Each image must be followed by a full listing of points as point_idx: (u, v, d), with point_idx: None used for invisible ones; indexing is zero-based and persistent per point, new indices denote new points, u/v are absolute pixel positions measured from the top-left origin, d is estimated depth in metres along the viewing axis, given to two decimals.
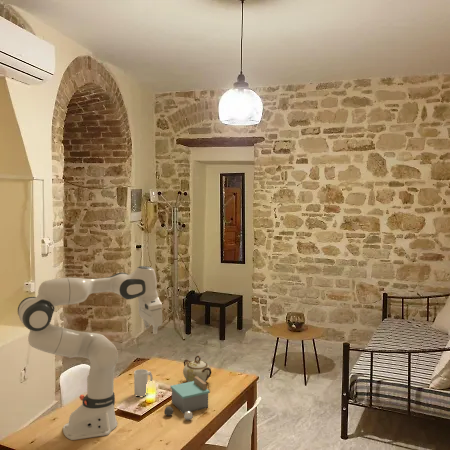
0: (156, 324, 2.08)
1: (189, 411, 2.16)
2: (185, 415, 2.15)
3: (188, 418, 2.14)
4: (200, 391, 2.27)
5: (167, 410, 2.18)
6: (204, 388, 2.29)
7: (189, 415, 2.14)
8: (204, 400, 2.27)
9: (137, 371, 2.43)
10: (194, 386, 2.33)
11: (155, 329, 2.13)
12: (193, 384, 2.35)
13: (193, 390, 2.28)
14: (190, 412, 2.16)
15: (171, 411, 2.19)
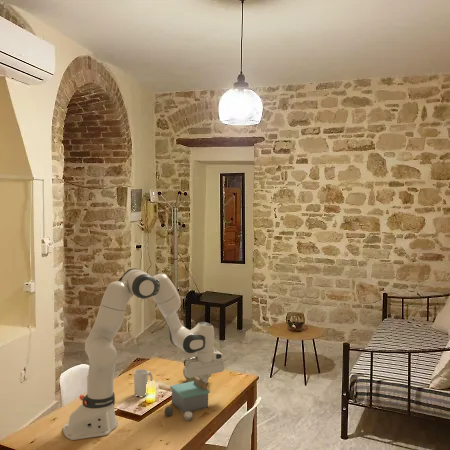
0: None
1: (189, 411, 2.16)
2: (185, 415, 2.15)
3: (188, 418, 2.14)
4: (200, 391, 2.27)
5: (167, 410, 2.18)
6: (204, 388, 2.29)
7: (189, 415, 2.14)
8: (204, 400, 2.27)
9: (137, 371, 2.43)
10: (194, 386, 2.33)
11: None
12: (193, 384, 2.35)
13: (193, 390, 2.28)
14: (190, 412, 2.16)
15: (171, 411, 2.19)
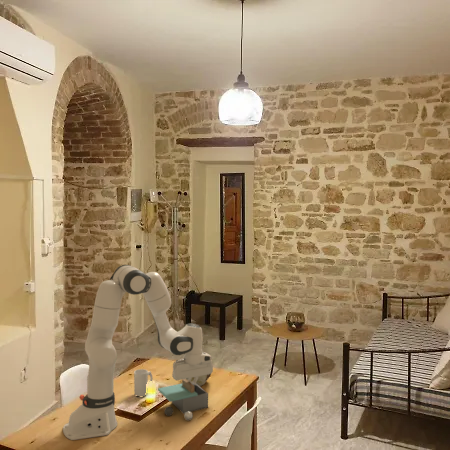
0: None
1: (189, 411, 2.16)
2: (185, 415, 2.15)
3: (188, 418, 2.14)
4: (188, 394, 2.24)
5: (167, 410, 2.18)
6: (192, 391, 2.25)
7: (189, 415, 2.14)
8: (204, 400, 2.27)
9: (137, 371, 2.43)
10: (182, 389, 2.29)
11: None
12: (181, 386, 2.32)
13: (181, 393, 2.25)
14: (190, 412, 2.16)
15: (171, 411, 2.19)
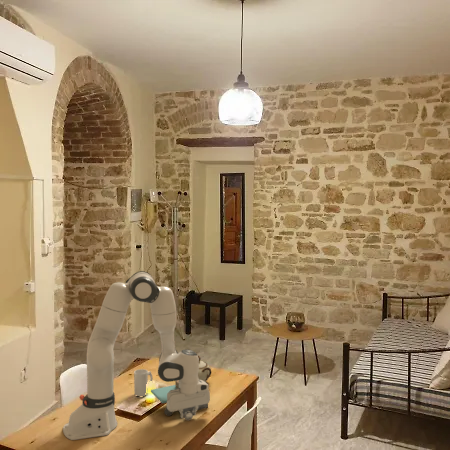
0: None
1: (189, 411, 2.16)
2: (185, 415, 2.15)
3: (188, 418, 2.14)
4: None
5: (167, 410, 2.18)
6: None
7: (189, 415, 2.14)
8: None
9: (137, 371, 2.43)
10: None
11: None
12: (174, 388, 2.30)
13: None
14: (190, 412, 2.16)
15: None
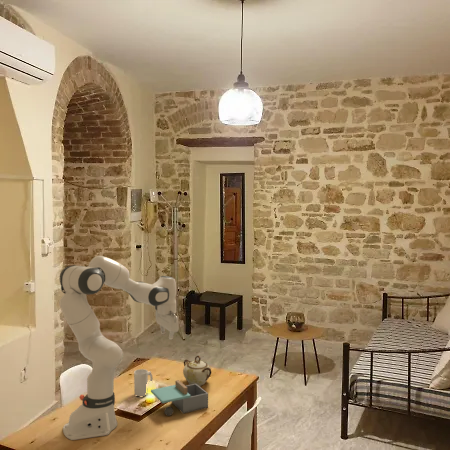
0: None
1: None
2: None
3: None
4: (181, 395, 2.22)
5: (167, 410, 2.18)
6: (185, 392, 2.24)
7: None
8: (204, 400, 2.27)
9: (137, 371, 2.43)
10: (175, 390, 2.28)
11: None
12: (174, 388, 2.30)
13: (174, 394, 2.23)
14: None
15: (171, 411, 2.19)
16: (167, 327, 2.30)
